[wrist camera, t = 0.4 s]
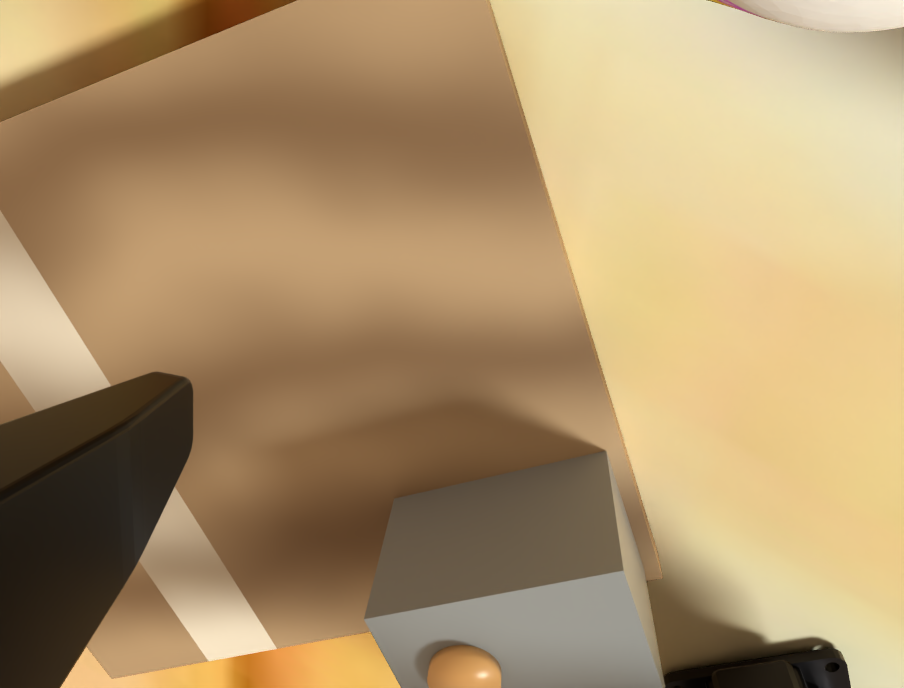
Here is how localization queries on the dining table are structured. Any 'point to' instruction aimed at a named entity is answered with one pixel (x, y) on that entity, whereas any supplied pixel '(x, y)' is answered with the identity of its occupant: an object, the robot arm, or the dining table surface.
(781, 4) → the supplement bottle
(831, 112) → the dining table surface
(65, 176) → the board
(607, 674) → the block
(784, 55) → the dining table surface
